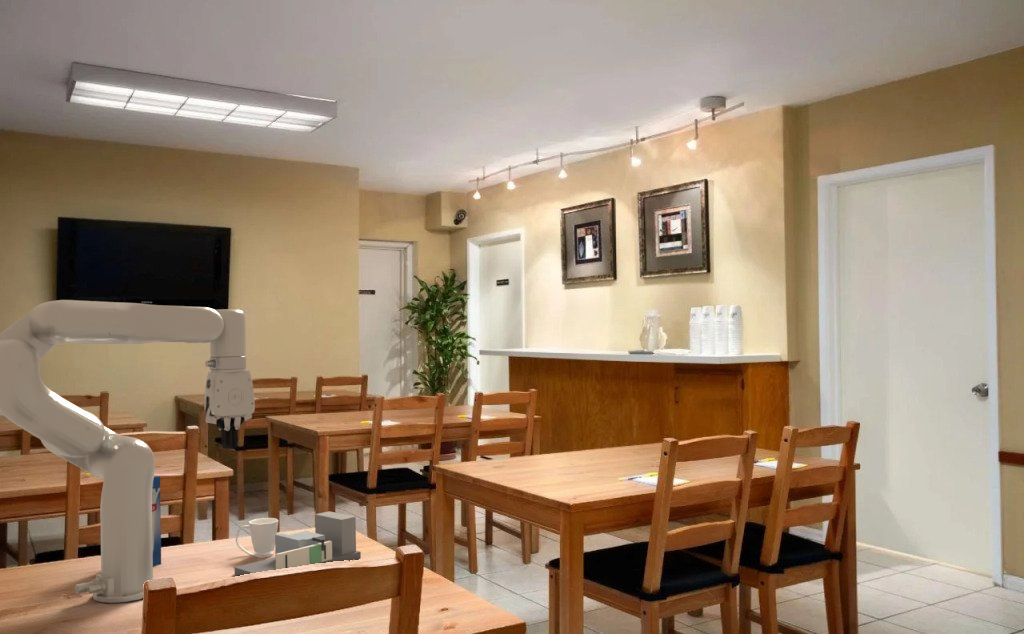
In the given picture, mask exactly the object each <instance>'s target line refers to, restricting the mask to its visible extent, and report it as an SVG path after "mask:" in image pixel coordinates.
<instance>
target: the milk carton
mask: <svg viewBox="0 0 1024 634" xmlns="http://www.w3.org/2000/svg"><path fill="white" fill-rule="evenodd" d="M161 506H162V504H161V476H158V475H154V479H153V487H152V545H153V567H156V566H159V565H162V528H161V527H162V525H161V524H162V521H161V520H162V519H161V517H162V516H161V513H162V512H161Z"/></svg>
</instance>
